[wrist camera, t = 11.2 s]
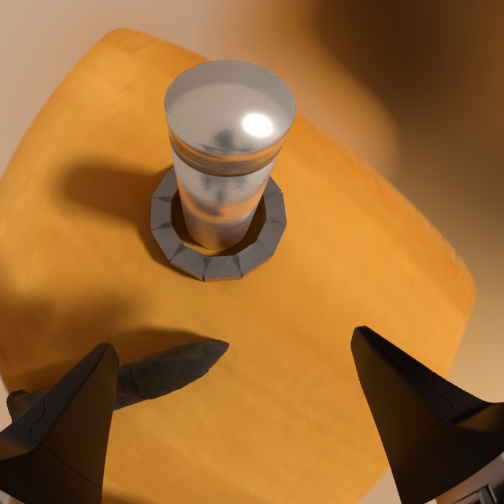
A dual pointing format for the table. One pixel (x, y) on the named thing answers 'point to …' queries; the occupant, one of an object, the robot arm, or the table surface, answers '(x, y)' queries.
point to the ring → (219, 265)
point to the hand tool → (145, 376)
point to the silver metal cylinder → (225, 144)
